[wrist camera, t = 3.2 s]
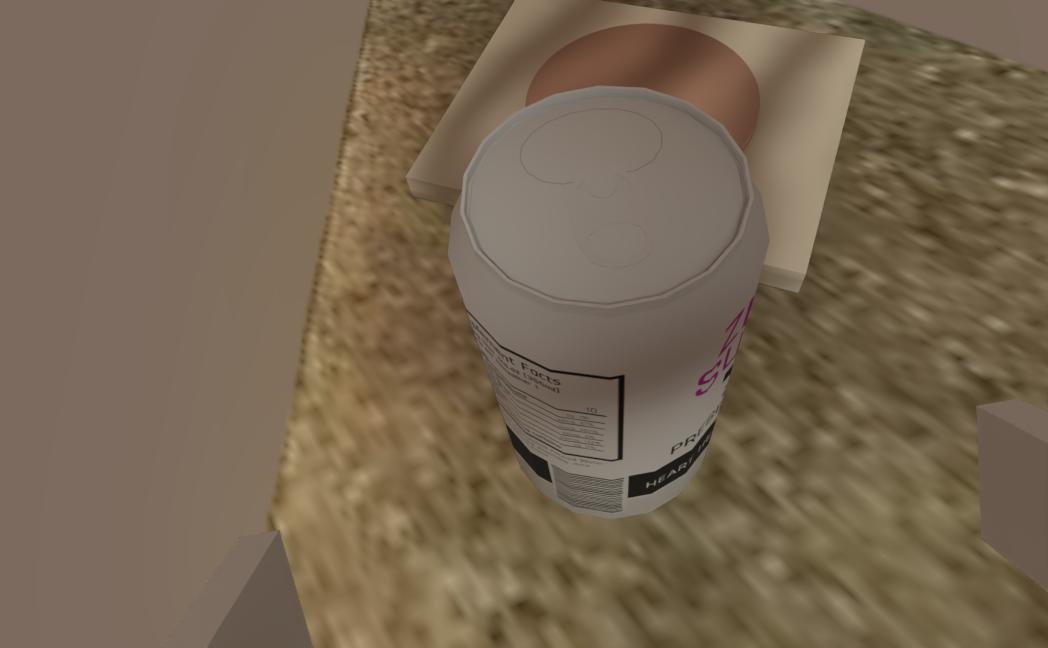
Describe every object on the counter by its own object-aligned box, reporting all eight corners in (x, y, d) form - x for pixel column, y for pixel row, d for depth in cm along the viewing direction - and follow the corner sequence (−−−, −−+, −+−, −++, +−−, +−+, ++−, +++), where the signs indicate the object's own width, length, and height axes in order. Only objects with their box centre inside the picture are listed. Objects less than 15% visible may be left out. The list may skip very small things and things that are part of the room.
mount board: (856, 63, 39) (868, 30, 37) (798, 292, 32) (808, 266, 30) (524, 10, 45) (521, -21, 43) (412, 196, 38) (402, 168, 36)
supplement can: (499, 360, 32) (422, 103, 19) (679, 327, 32) (722, 45, 19) (526, 540, 28) (450, 363, 15) (734, 502, 27) (837, 291, 15)
